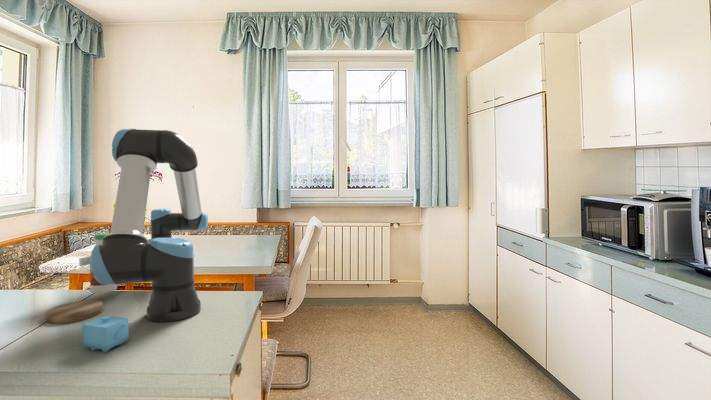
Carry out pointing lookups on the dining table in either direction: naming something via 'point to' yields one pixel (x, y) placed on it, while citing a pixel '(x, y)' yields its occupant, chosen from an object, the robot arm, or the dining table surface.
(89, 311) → the brown round coaster
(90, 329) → the light blue box
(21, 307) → the dining table surface
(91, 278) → the milk bottle
